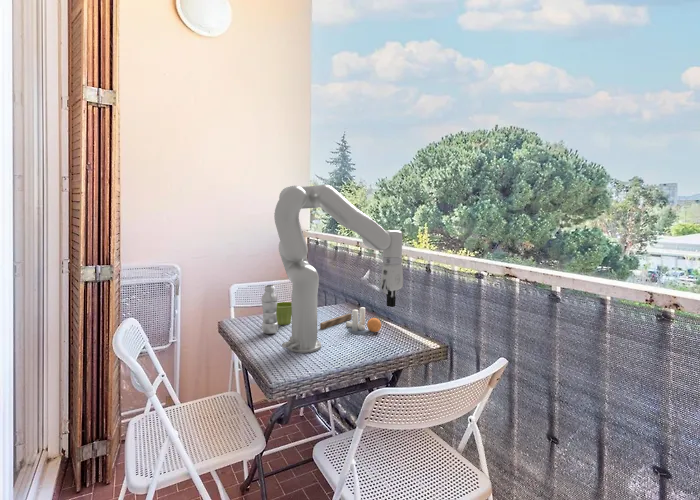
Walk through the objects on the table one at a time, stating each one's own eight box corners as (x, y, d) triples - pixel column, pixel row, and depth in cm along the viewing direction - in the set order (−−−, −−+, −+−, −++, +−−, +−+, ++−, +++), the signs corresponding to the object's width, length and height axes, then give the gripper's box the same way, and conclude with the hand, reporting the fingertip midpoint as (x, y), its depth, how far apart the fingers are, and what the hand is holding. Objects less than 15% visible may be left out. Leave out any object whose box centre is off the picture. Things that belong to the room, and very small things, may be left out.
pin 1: (355, 332, 163) (355, 311, 162) (351, 331, 165) (351, 310, 164) (358, 330, 165) (359, 310, 164) (354, 329, 167) (354, 309, 166)
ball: (362, 322, 164) (367, 335, 162) (371, 316, 161) (376, 329, 159) (371, 320, 169) (377, 333, 166) (380, 314, 165) (386, 327, 163)
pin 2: (362, 329, 167) (363, 308, 166) (358, 328, 169) (358, 308, 168) (365, 327, 169) (366, 307, 168) (361, 326, 171) (361, 306, 170)
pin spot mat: (365, 337, 157) (365, 336, 157) (342, 330, 165) (342, 330, 165) (381, 329, 167) (381, 329, 167) (359, 324, 174) (359, 323, 174)
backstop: (322, 329, 166) (323, 323, 166) (320, 328, 167) (320, 323, 167) (351, 319, 182) (351, 313, 182) (348, 318, 183) (348, 313, 183)
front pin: (362, 325, 164) (346, 321, 170) (361, 331, 164) (345, 326, 170) (365, 324, 166) (349, 320, 172) (365, 330, 166) (349, 326, 172)
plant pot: (283, 327, 168) (283, 308, 167) (268, 323, 173) (268, 304, 172) (298, 322, 175) (298, 304, 174) (284, 319, 181) (284, 300, 180)
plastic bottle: (274, 336, 157) (274, 288, 154) (259, 335, 158) (258, 287, 156) (280, 331, 163) (280, 284, 161) (265, 330, 164) (265, 284, 162)
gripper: (390, 264, 145) (388, 311, 148) (409, 260, 157) (408, 304, 159) (373, 262, 150) (372, 308, 152) (393, 258, 162) (392, 301, 164)
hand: (390, 306), depth 156 cm, fingers closed
